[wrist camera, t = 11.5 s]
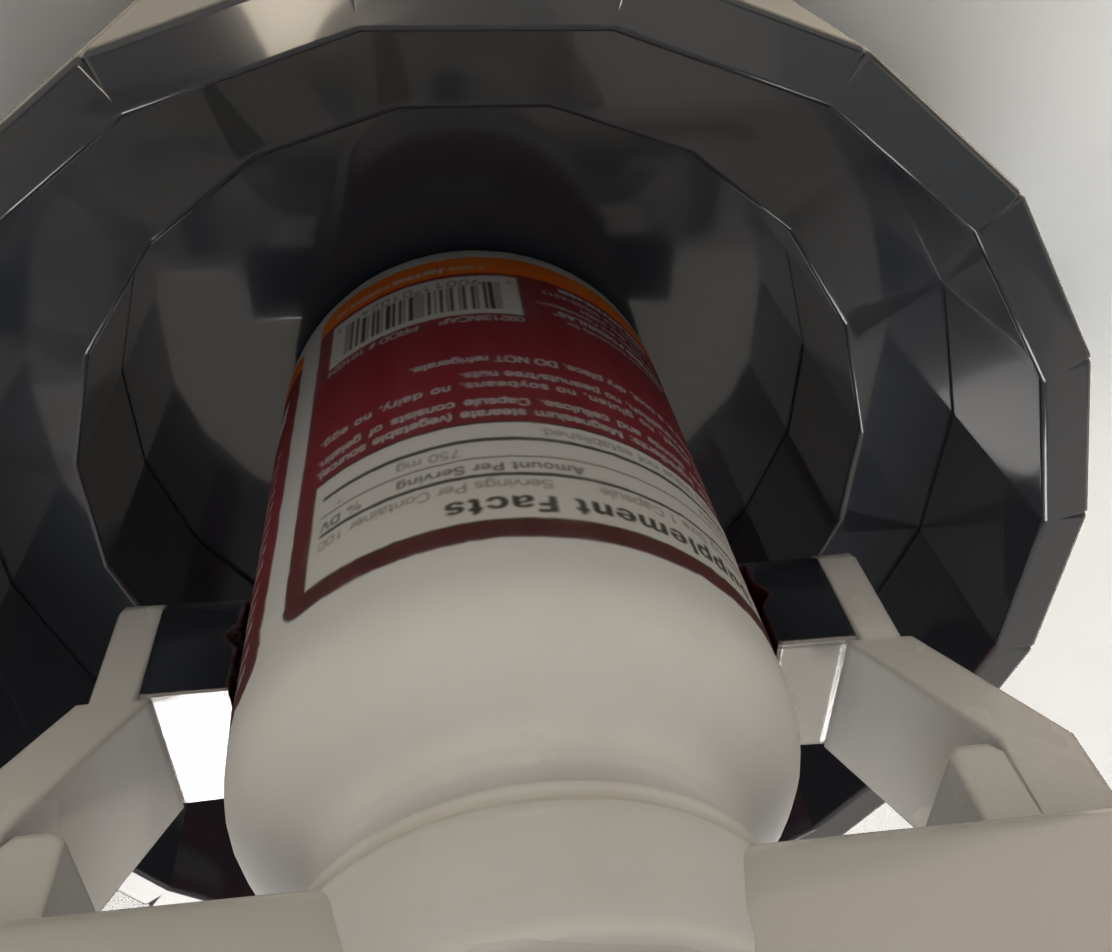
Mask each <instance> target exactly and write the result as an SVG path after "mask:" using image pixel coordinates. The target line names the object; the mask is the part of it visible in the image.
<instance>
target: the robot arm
mask: <svg viewBox="0 0 1112 952" xmlns="http://www.w3.org/2000/svg"><path fill="white" fill-rule="evenodd" d="M738 566H739V568H740V571H741V573H742V575H743V578H744V580H745V583H746V585H747V588H748V590H749V592H750V595H751V597H752V599H753V601H754V604H755V606H756V608H757V610H758V613H759V615H760V618H761V620H762V622H763V624H764V627H765V629H766V631H767V634H768V636H769V639H770V641H771V644H772V647H773V650H774V653H775V656H776V658H777V660H778V662H779V665H780V667H781V670H782V672H783V674H784V677H785V679H786V682H787V685H788V688H789V691H790V694H791V696H792V699H793V703H794V707H795V711H796V716H797V720H798V725H799V730H800V745H808V744H823V743H825V744H824V747H825V748H826V749H827V750H828V751H830V752H831V753H832V754H833V755H834V756H835V757H836V758H837V759H838V760H840V761H841V762H842V763H843V764H844V765H845V766H846V767H847V768H848V769H850V770H851V771H852V772H853V773H854V774H855V775H856V776H857V777H858V778H859V779H861V780H862V781H863V782H864V783H865V784H866V785H867V786H868V787H869V788H871V789H872V790H873V791H874V792H875V793H876V794H877V795H878V796H879V797H881V798H882V799H883V800H884V801H885V802H886V803H887V804H888V805H889V806H891V807H892V808H893V809H894V810H895V811H896V812H897V813H898V814H899V815H900V816H902V817H903V818H904V819H905V820H906V821H907V822H908V823H909V824H910V825H912V826H913V827H914V828H907V829H898V830H888V831H878V832H869V833H859V834H850V835H840V836H830V837H821V838H811V839H801V840H791V841H781V842H772V843H762V844H752V845H749V846H748V847H747V849H746V850H745V853H744V858H743V859H744V876H745V894H746V905H747V911H748V914H749V918H750V922H751V926H752V929H753V933H754V940H755V951H754V952H1112V790H1111V789H1110V788H1109V786H1108V785H1107V783H1106V782H1105V780H1104V779H1103V777H1102V776H1101V774H1100V773H1099V771H1098V770H1097V768H1096V767H1095V765H1094V764H1093V763H1092V761H1091V760H1090V758H1089V757H1088V755H1087V754H1086V752H1085V751H1084V749H1083V748H1082V746H1081V745H1080V743H1079V742H1078V740H1077V739H1076V738H1075V736H1074V735H1073V733H1071V732H1069V731H1068V730H1066V729H1064V728H1063V727H1061V726H1059V725H1058V724H1056V723H1054V722H1053V721H1051V720H1049V719H1048V718H1046V717H1045V716H1043V715H1041V714H1040V713H1038V712H1036V711H1035V710H1033V709H1031V708H1030V707H1028V706H1026V705H1025V704H1023V703H1021V702H1020V701H1018V700H1017V699H1015V698H1013V697H1012V696H1010V695H1008V694H1007V693H1005V692H1003V691H1002V690H1000V689H998V688H997V687H995V686H993V685H992V684H990V683H989V682H987V681H985V680H984V679H982V678H980V677H979V676H977V675H975V674H974V673H972V672H970V671H969V670H967V669H965V668H964V667H962V666H961V665H959V664H957V663H956V662H954V661H952V660H951V659H949V658H947V657H946V656H944V655H942V654H941V653H939V652H937V651H936V650H934V649H933V648H931V647H929V646H928V645H926V644H924V643H923V642H921V641H919V640H918V639H916V638H914V637H913V636H902V637H901V636H900V634H899V632H898V631H897V629H896V627H895V625H894V624H893V622H892V620H891V618H890V617H889V615H888V613H887V611H886V610H885V608H884V606H883V604H882V603H881V601H880V599H879V597H878V596H877V594H876V592H875V590H874V589H873V587H872V585H871V583H870V582H869V580H868V578H867V576H866V575H865V573H864V571H863V569H862V568H861V566H860V564H859V562H858V561H857V559H856V557H854V556H853V555H851V554H850V553H844V554H833V555H822V556H813V557H812V558H809V557H808V558H796V559H783V560H771V561H759V562H747V563H738ZM250 606H251V602H250V601H249V600H234V601H215V602H196V603H177V604H168V605H153V606H134V607H126V608H125V609H124V610H123V611H122V612H121V613H120V615H119V616H118V619H117V622H116V625H115V628H114V631H113V633H112V636H111V639H110V642H109V645H108V648H107V651H106V654H105V657H104V660H103V663H102V666H101V669H100V671H99V674H98V677H97V680H96V683H95V686H94V689H93V692H92V695H91V698H90V701H89V704H86V705H76V706H75V707H74V708H72V709H71V710H70V711H69V712H68V713H66V714H65V715H64V716H63V717H62V718H60V719H59V720H58V721H57V722H56V723H54V724H53V725H52V726H51V727H50V728H48V729H47V730H46V731H45V732H44V733H42V734H41V735H40V736H39V737H38V738H36V739H35V740H34V741H33V742H32V743H30V744H29V745H28V746H27V747H26V748H25V749H23V750H22V751H21V752H20V753H19V754H17V755H16V756H15V757H14V758H13V759H11V760H10V761H9V762H8V763H7V764H5V765H4V766H3V767H2V768H1V769H0V952H343V948H342V944H341V940H340V937H339V934H338V931H337V927H336V923H335V919H334V915H333V912H332V908H331V904H330V900H329V898H328V897H327V895H326V894H325V893H323V892H322V891H321V889H314V890H304V891H294V892H285V893H275V894H265V895H255V896H246V897H236V898H226V899H217V900H207V901H197V902H187V903H178V904H168V905H158V906H149V907H139V908H129V909H119V910H110V911H101V910H102V909H103V908H104V906H105V905H106V904H107V903H108V901H109V900H110V899H111V898H112V896H113V895H114V894H115V893H116V891H117V890H118V889H119V888H120V886H121V885H122V884H123V883H124V881H125V880H126V879H127V878H128V876H129V875H130V874H131V873H132V871H133V870H134V869H135V868H136V866H137V865H138V864H139V863H140V861H141V860H142V859H143V858H144V857H145V855H146V854H147V853H148V852H149V850H150V849H151V848H152V847H153V845H154V844H155V843H156V842H157V840H158V839H159V838H160V837H161V835H162V834H163V833H164V832H165V830H166V829H167V828H168V827H169V825H170V824H171V823H172V822H173V820H174V819H175V818H176V817H177V815H178V814H179V813H180V812H181V810H182V809H183V808H184V805H183V803H190V802H198V801H206V800H215V799H223V798H224V772H225V761H226V753H227V745H228V736H229V727H230V719H231V711H232V708H233V704H234V699H235V694H236V689H237V682H238V675H239V669H240V664H241V659H242V654H243V648H244V641H245V634H246V629H247V624H248V618H249V611H250Z"/></svg>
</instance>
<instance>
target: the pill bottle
mask: <svg viewBox="0 0 1112 952" xmlns="http://www.w3.org/2000/svg"><path fill="white" fill-rule="evenodd" d="M800 756H801V749H800V730H799V725H798V720H797V716H796V711H795V707H794V703H793V699H792V696H791V694H790V691H789V688H788V685H787V682H786V679H785V677H784V674H783V672H782V670H781V667H780V665H779V662H778V660H777V658H776V656H775V653H774V650H773V647H772V644H771V641H770V639H769V636H768V634H767V631H766V629H765V627H764V624H763V622H762V620H761V618H760V615H759V613H758V610H757V608H756V606H755V604H754V601H753V599H752V597H751V595H750V592H749V590H748V588H747V585H746V583H745V580H744V578H743V575H742V573H741V571H740V568H739V566H738V564H737V561H736V558H735V556H734V554H733V552H732V550H731V547H730V544H729V542H728V540H727V537H726V535H725V533H724V531H723V529H722V527H721V524H720V522H719V520H718V517H717V515H716V513H715V510H714V508H713V505H712V503H711V501H710V498H709V496H708V493H707V491H706V489H705V486H704V484H703V481H702V479H701V477H700V474H699V472H698V470H697V467H696V465H695V463H694V460H693V458H692V455H691V453H690V451H689V448H688V446H687V444H686V441H685V439H684V437H683V434H682V432H681V430H680V427H679V425H678V423H677V420H676V418H675V415H674V413H673V411H672V408H671V406H670V404H669V401H668V399H667V397H666V394H665V392H664V389H663V387H662V385H661V382H660V380H659V377H658V375H657V373H656V370H655V368H654V366H653V363H652V361H651V359H650V357H649V355H648V353H647V351H646V349H645V347H644V346H643V344H642V342H641V341H640V339H639V337H638V336H637V334H636V333H635V331H634V329H633V328H632V326H631V325H630V324H629V322H628V321H627V320H626V319H625V317H624V316H623V315H622V314H621V313H620V312H619V310H618V309H617V308H616V307H615V306H614V305H613V304H612V303H611V302H610V301H609V300H608V299H607V298H606V297H605V296H603V295H602V294H601V293H600V292H598V291H597V290H596V289H594V288H593V287H592V286H590V285H589V284H588V283H586V282H585V281H583V280H581V279H580V278H578V277H577V276H575V275H573V274H572V273H569V272H567V271H565V270H563V269H561V268H559V267H557V266H554V265H552V264H549V263H547V262H544V261H541V260H538V259H534V258H531V257H528V256H523V255H518V254H513V253H508V252H498V251H484V250H464V251H452V252H445V253H438V254H434V255H429V256H425V257H421V258H418V259H414V260H410V261H408V262H405V263H402V264H400V265H397V266H395V267H392V268H390V269H388V270H385V271H383V272H381V273H379V274H378V275H376V276H374V277H372V278H371V279H369V280H367V281H366V282H364V283H363V284H361V285H360V286H359V287H357V288H356V289H355V290H354V291H352V292H351V293H350V294H349V295H347V296H346V297H345V298H344V299H343V300H342V301H341V302H339V303H338V304H337V305H336V306H335V307H334V308H333V309H332V310H331V311H330V312H329V313H328V314H327V315H326V317H325V318H324V319H323V320H322V322H321V323H320V324H319V326H318V327H317V328H316V330H315V331H314V332H313V334H312V335H311V337H310V338H309V340H308V342H307V343H306V345H305V347H304V349H303V351H302V353H301V355H300V357H299V359H298V361H297V363H296V366H295V369H294V372H293V375H292V379H291V382H290V385H289V389H288V393H287V396H286V402H285V408H284V413H283V419H282V425H281V431H280V436H279V442H278V447H277V453H276V458H275V462H274V468H273V475H272V481H271V487H270V494H269V499H268V505H267V512H266V518H265V524H264V530H263V536H262V542H261V548H260V554H259V560H258V566H257V571H256V577H255V583H254V589H253V595H252V601H251V606H250V611H249V618H248V624H247V629H246V634H245V641H244V648H243V654H242V659H241V664H240V669H239V675H238V682H237V689H236V694H235V699H234V704H233V708H232V711H231V719H230V727H229V736H228V745H227V753H226V761H225V772H224V807H225V818H226V826H227V830H228V833H229V837H230V841H231V845H232V848H233V852H234V855H235V857H236V859H237V861H238V863H239V865H240V868H241V870H242V872H243V874H244V876H245V878H246V880H247V882H248V884H249V885H250V887H251V889H252V890H253V892H254V893H255V895H265V894H275V893H285V892H294V891H304V890H314V889H321V891H322V892H323V893H325V894H326V895H327V897H328V898H329V900H330V904H331V908H332V912H333V915H334V919H335V923H336V927H337V931H338V934H339V937H340V940H341V944H342V948H343V952H754V951H755V940H754V933H753V929H752V926H751V922H750V918H749V914H748V911H747V905H746V894H745V876H744V859H743V858H744V853H745V850H746V849H747V847H748V846H749V845H752V844H762V843H772V842H778V840H779V838H780V837H781V834H782V832H783V830H784V827H785V825H786V823H787V820H788V818H789V815H790V812H791V809H792V805H793V802H794V798H795V795H796V791H797V787H798V781H799V776H800Z"/></svg>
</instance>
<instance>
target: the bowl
mask: <svg viewBox="0 0 1112 952" xmlns="http://www.w3.org/2000/svg"><path fill="white" fill-rule="evenodd" d="M464 250H484V251H498V252H508V253H513V254H518V255H523V256H528V257H531V258H534V259H538V260H541V261H544V262H547V263H549V264H552V265H554V266H557V267H559V268H561V269H563V270H565V271H567V272H569V273H572V274H573V275H575V276H577V277H578V278H580V279H581V280H583V281H585V282H586V283H588V284H589V285H590V286H592V287H593V288H594V289H596V290H597V291H598V292H600V293H601V294H602V295H603V296H605V297H606V298H607V299H608V300H609V301H610V302H611V303H612V304H613V305H614V306H615V307H616V308H617V309H618V310H619V312H620V313H621V314H622V315H623V316H624V317H625V319H626V320H627V321H628V322H629V324H630V325H631V326H632V328H633V329H634V331H635V333H636V334H637V336H638V337H639V339H640V341H641V342H642V344H643V346H644V347H645V349H646V351H647V353H648V355H649V357H650V359H651V361H652V363H653V366H654V368H655V370H656V373H657V375H658V377H659V380H660V382H661V385H662V387H663V389H664V392H665V394H666V397H667V399H668V401H669V404H670V406H671V408H672V411H673V413H674V415H675V418H676V420H677V423H678V425H679V427H680V430H681V432H682V434H683V437H684V439H685V441H686V444H687V446H688V448H689V451H690V453H691V455H692V458H693V460H694V463H695V465H696V467H697V470H698V472H699V474H700V477H701V479H702V481H703V484H704V486H705V489H706V491H707V493H708V496H709V498H710V501H711V503H712V505H713V508H714V510H715V513H716V515H717V517H718V520H719V522H720V524H721V527H722V529H723V531H724V533H725V535H726V537H727V540H728V542H729V544H730V547H731V550H732V552H733V554H734V556H735V558H736V561H737V564H738V563H747V562H759V561H771V560H783V559H796V558H808V557H809V558H812V557H813V556H822V555H833V554H844V553H850V554H851V555H853V556H854V557H856V559H857V561H858V562H859V564H860V566H861V568H862V569H863V571H864V573H865V575H866V576H867V578H868V580H869V582H870V583H871V585H872V587H873V589H874V590H875V592H876V594H877V596H878V597H879V599H880V601H881V603H882V604H883V606H884V608H885V610H886V611H887V613H888V615H889V617H890V618H891V620H892V622H893V624H894V625H895V627H896V629H897V631H898V632H899V634H900V636H901V637H902V636H913V637H914V638H916V639H918V640H919V641H921V642H923V643H924V644H926V645H928V646H929V647H931V648H933V649H934V650H936V651H937V652H939V653H941V654H942V655H944V656H946V657H947V658H949V659H951V660H952V661H954V662H956V663H957V664H959V665H961V666H962V667H964V668H965V669H967V670H969V671H970V672H972V673H974V674H975V675H977V676H979V677H980V678H982V679H984V680H985V681H987V682H989V683H990V684H992V685H993V686H995V687H997V688H998V689H1000V687H1001V686H1002V685H1003V684H1004V683H1005V681H1006V680H1007V679H1008V678H1009V676H1010V675H1011V674H1012V673H1013V671H1014V670H1015V669H1016V668H1017V666H1018V665H1019V664H1020V663H1021V661H1022V660H1023V659H1024V658H1025V656H1026V655H1027V654H1028V653H1029V651H1030V649H1031V647H1030V646H1032V645H1033V644H1034V643H1035V641H1036V638H1037V636H1038V633H1039V631H1040V628H1041V626H1042V623H1043V621H1044V618H1045V616H1046V613H1047V611H1048V608H1049V606H1050V604H1051V601H1052V599H1053V596H1054V594H1055V591H1056V589H1057V586H1058V584H1059V581H1060V579H1061V576H1062V574H1063V571H1064V569H1065V566H1066V564H1067V561H1068V559H1069V557H1070V554H1071V552H1072V549H1073V547H1074V544H1075V542H1076V539H1077V537H1078V534H1079V532H1080V529H1081V527H1082V524H1083V522H1084V519H1085V511H1086V510H1087V498H1088V453H1089V408H1090V360H1089V357H1090V353H1089V350H1088V348H1087V345H1086V343H1085V340H1084V338H1083V336H1082V333H1081V331H1080V328H1079V326H1078V324H1077V321H1076V319H1075V316H1074V314H1073V312H1072V309H1071V307H1070V304H1069V302H1068V300H1067V297H1066V295H1065V292H1064V290H1063V288H1062V285H1061V283H1060V280H1059V278H1058V276H1057V273H1056V271H1055V268H1054V266H1053V264H1052V261H1051V259H1050V256H1049V254H1048V252H1047V249H1046V247H1045V244H1044V242H1043V240H1042V237H1041V235H1040V232H1039V230H1038V228H1037V225H1036V223H1035V220H1034V218H1033V216H1032V213H1031V211H1030V208H1029V206H1028V204H1027V201H1026V199H1025V197H1024V196H1023V195H1021V194H1020V192H1019V189H1018V188H1017V187H1016V186H1015V185H1014V184H1013V183H1012V182H1011V181H1010V180H1009V179H1008V178H1007V177H1005V176H1004V175H1003V174H1002V173H1001V172H1000V171H999V170H998V169H997V168H996V167H995V166H994V165H993V164H992V163H991V162H989V161H988V160H987V159H986V158H985V157H984V156H983V155H982V154H981V153H980V152H979V151H978V150H977V149H976V148H974V147H973V146H972V145H971V144H970V143H969V142H968V141H967V140H966V139H965V138H964V137H963V136H962V135H961V134H960V133H958V132H957V131H956V130H955V129H954V128H953V127H952V126H951V125H950V124H949V123H948V122H947V121H946V120H945V119H943V118H942V117H941V116H940V115H939V114H938V113H937V112H936V111H935V110H934V109H933V108H932V107H931V106H930V105H929V104H927V103H926V102H925V101H924V100H923V99H922V98H921V97H920V96H919V95H918V94H917V93H916V92H915V91H914V90H912V89H911V88H910V87H909V86H908V85H907V84H906V83H905V82H904V81H903V80H902V79H901V78H900V77H899V76H898V75H896V74H895V73H894V72H893V71H892V70H891V69H890V68H889V67H888V66H887V65H886V64H885V63H884V62H883V61H881V60H880V59H879V58H878V57H877V56H876V55H875V54H874V53H873V52H872V51H870V50H869V49H867V48H866V47H864V46H862V45H861V44H859V43H858V42H856V41H855V40H853V39H852V38H850V37H849V36H847V35H845V34H844V33H842V32H841V31H839V30H838V29H836V28H835V27H833V26H831V25H830V24H828V23H827V22H825V21H824V20H822V19H821V18H819V17H818V16H816V15H814V14H813V13H811V12H810V11H808V10H807V9H805V8H804V7H802V6H801V5H799V4H797V3H796V2H794V1H793V0H134V1H133V2H132V3H131V4H130V5H129V6H128V7H127V8H126V9H124V10H123V11H122V12H121V13H120V14H119V15H118V16H117V17H116V18H114V19H113V20H112V21H111V22H110V23H109V24H108V25H107V26H106V27H104V28H103V29H102V30H101V31H100V32H99V33H98V34H97V35H96V36H94V37H93V38H92V39H91V40H90V41H89V42H88V43H87V44H86V45H84V46H83V47H82V48H81V49H80V50H79V51H78V52H77V53H75V54H74V55H73V56H72V57H71V58H70V59H69V60H68V61H67V62H65V63H64V64H63V65H62V66H61V67H60V68H59V69H58V70H57V71H55V72H54V73H53V74H52V75H51V76H50V77H49V78H48V79H47V80H46V81H44V82H43V83H42V84H41V85H40V86H39V87H38V88H37V89H36V90H34V91H33V92H32V93H31V94H30V95H29V96H28V97H27V98H26V99H24V100H23V101H22V102H21V103H20V104H19V105H18V106H17V107H16V108H15V109H13V110H12V111H11V112H10V113H9V114H8V115H7V116H6V117H5V118H3V119H2V120H1V121H0V769H1V768H2V767H3V766H4V765H5V764H7V763H8V762H9V761H10V760H11V759H13V758H14V757H15V756H16V755H17V754H19V753H20V752H21V751H22V750H23V749H25V748H26V747H27V746H28V745H29V744H30V743H32V742H33V741H34V740H35V739H36V738H38V737H39V736H40V735H41V734H42V733H44V732H45V731H46V730H47V729H48V728H50V727H51V726H52V725H53V724H54V723H56V722H57V721H58V720H59V719H60V718H62V717H63V716H64V715H65V714H66V713H68V712H69V711H70V710H71V709H72V708H74V707H75V706H76V705H86V704H89V701H90V698H91V695H92V692H93V689H94V686H95V683H96V680H97V677H98V674H99V671H100V669H101V666H102V663H103V660H104V657H105V654H106V651H107V648H108V645H109V642H110V639H111V636H112V633H113V631H114V628H115V625H116V622H117V619H118V616H119V615H120V613H121V612H122V611H123V610H124V609H125V608H126V607H134V606H153V605H168V604H177V603H196V602H215V601H234V600H249V601H250V602H251V601H252V595H253V589H254V583H255V577H256V571H257V566H258V560H259V554H260V548H261V542H262V536H263V530H264V524H265V518H266V512H267V505H268V499H269V494H270V487H271V481H272V475H273V468H274V462H275V458H276V453H277V447H278V442H279V436H280V431H281V425H282V419H283V413H284V408H285V402H286V396H287V393H288V389H289V385H290V382H291V379H292V375H293V372H294V369H295V366H296V363H297V361H298V359H299V357H300V355H301V353H302V351H303V349H304V347H305V345H306V343H307V342H308V340H309V338H310V337H311V335H312V334H313V332H314V331H315V330H316V328H317V327H318V326H319V324H320V323H321V322H322V320H323V319H324V318H325V317H326V315H327V314H328V313H329V312H330V311H331V310H332V309H333V308H334V307H335V306H336V305H337V304H338V303H339V302H341V301H342V300H343V299H344V298H345V297H346V296H347V295H349V294H350V293H351V292H352V291H354V290H355V289H356V288H357V287H359V286H360V285H361V284H363V283H364V282H366V281H367V280H369V279H371V278H372V277H374V276H376V275H378V274H379V273H381V272H383V271H385V270H388V269H390V268H392V267H395V266H397V265H400V264H402V263H405V262H408V261H410V260H414V259H418V258H421V257H425V256H429V255H434V254H438V253H445V252H452V251H464ZM824 744H825V743H823V744H808V745H800V749H801V756H800V776H799V781H798V787H797V791H796V795H795V798H794V802H793V805H792V809H791V812H790V815H789V818H788V820H787V823H786V825H785V827H784V830H783V832H782V834H781V837H780V838H779V840H778V842H781V841H791V840H801V839H811V838H821V837H830V836H840V835H844V834H845V833H846V832H847V831H849V830H850V829H851V828H853V827H854V826H855V825H857V824H858V823H859V822H861V821H862V820H863V819H864V818H866V817H867V816H868V815H870V814H871V813H872V812H874V811H875V810H876V809H877V808H879V807H880V806H881V805H883V804H884V803H885V801H884V800H883V799H882V798H881V797H879V796H878V795H877V794H876V793H875V792H874V791H873V790H872V789H871V788H869V787H868V786H867V785H866V784H865V783H864V782H863V781H862V780H861V779H859V778H858V777H857V776H856V775H855V774H854V773H853V772H852V771H851V770H850V769H848V768H847V767H846V766H845V765H844V764H843V763H842V762H841V761H840V760H838V759H837V758H836V757H835V756H834V755H833V754H832V753H831V752H830V751H828V750H827V749H826V748H825V747H824ZM183 805H184V808H183V809H182V810H181V812H180V813H179V814H178V815H177V817H176V818H175V819H174V820H173V822H172V823H171V824H170V825H169V827H168V828H167V829H166V830H165V832H164V833H163V834H162V835H161V837H160V838H159V839H158V840H157V842H156V843H155V844H154V845H153V847H152V848H151V849H150V850H149V852H148V853H147V854H146V855H145V857H144V858H143V859H142V860H141V861H140V863H139V864H138V865H137V866H136V868H135V869H134V870H133V871H132V873H131V874H130V875H129V876H128V878H127V879H126V880H125V881H124V883H123V884H122V885H121V886H120V888H119V889H118V890H117V891H119V892H121V893H123V894H125V895H127V896H129V897H131V898H133V899H135V900H137V901H138V902H140V903H142V904H149V906H158V905H168V904H178V903H187V902H197V901H207V900H217V899H226V898H236V897H246V896H255V893H254V892H253V890H252V889H251V887H250V885H249V884H248V882H247V880H246V878H245V876H244V874H243V872H242V870H241V868H240V865H239V863H238V861H237V859H236V857H235V855H234V852H233V848H232V845H231V841H230V837H229V833H228V830H227V826H226V818H225V807H224V798H223V799H215V800H206V801H198V802H190V803H183Z"/></svg>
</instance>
